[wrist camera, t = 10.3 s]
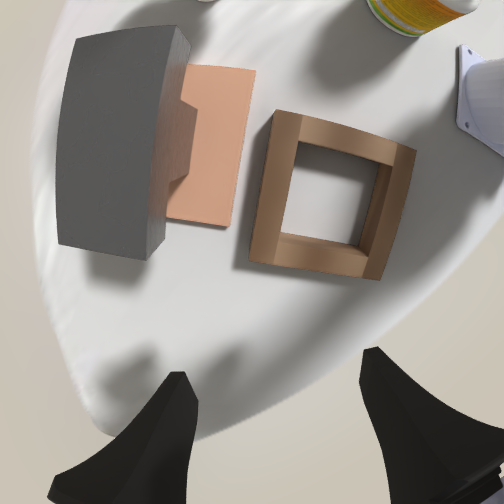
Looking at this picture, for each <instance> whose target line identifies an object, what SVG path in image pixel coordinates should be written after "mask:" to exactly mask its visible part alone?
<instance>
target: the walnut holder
mask: <svg viewBox="0 0 504 504" xmlns="http://www.w3.org/2000/svg"><path fill="white" fill-rule="evenodd" d="M298 142H301V143H306V144H310V145H315V146H319V147H323V148H327V149H331V150H335V151H339V152H342V153H346V154H350V155H353V156H357V157H360V158H364V159H367V160H370V161H374V162H377V163H379V168H378V172H377V177H376V181H375V185H374V190H373V194H372V198H371V202H370V206H369V210H368V213H367V217H366V221H365V224H364V228H363V231H362V235H361V238H360V242H359V245H358V246H355V245H349V244H344V243H339V242H333V241H328V240H322V239H317V238H311V237H305V236H300V235H294V234H288V233H282V232H280V230H281V225H282V221H283V216H284V211H285V206H286V201H287V196H288V191H289V186H290V181H291V176H292V171H293V166H294V161H295V155H296V150H297V145H298ZM416 151H417V150H414V149H412V148H409V147H407V146H404V145H401V144H399V143H396V142H393V141H391V140H388V139H385V138H382V137H379V136H376V135H373V134H370V133H367V132H364V131H361V130H358V129H355V128H351V127H348V126H345V125H341V124H337V123H334V122H330V121H326V120H322V119H318V118H314V117H310V116H306V115H301V114H297V113H292V112H287V111H282V110H277V109H276V110H275V112H274V114H273V119H272V125H271V130H270V136H269V141H268V147H267V152H266V158H265V163H264V169H263V175H262V180H261V186H260V191H259V197H258V203H257V208H256V214H255V219H254V225H253V231H252V236H251V242H250V248H249V261H252V262H259V263H265V264H272V265H278V266H284V267H291V268H298V269H304V270H311V271H317V272H324V273H331V274H337V275H344V276H351V277H358V278H365V279H371V280H378V281H380V279H381V277H382V274H383V271H384V268H385V266H386V263H387V260H388V257H389V254H390V251H391V248H392V245H393V242H394V239H395V235H396V232H397V229H398V225H399V222H400V219H401V215H402V211H403V208H404V204H405V200H406V196H407V192H408V188H409V184H410V180H411V175H412V171H413V166H414V161H415V156H416Z"/></svg>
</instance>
